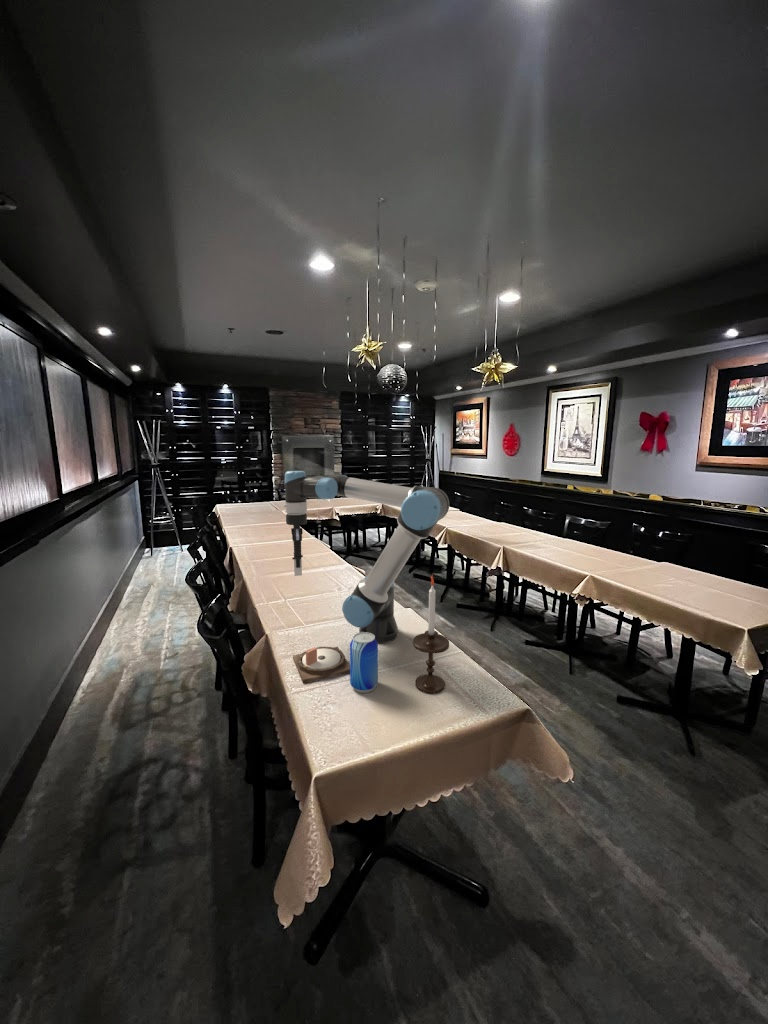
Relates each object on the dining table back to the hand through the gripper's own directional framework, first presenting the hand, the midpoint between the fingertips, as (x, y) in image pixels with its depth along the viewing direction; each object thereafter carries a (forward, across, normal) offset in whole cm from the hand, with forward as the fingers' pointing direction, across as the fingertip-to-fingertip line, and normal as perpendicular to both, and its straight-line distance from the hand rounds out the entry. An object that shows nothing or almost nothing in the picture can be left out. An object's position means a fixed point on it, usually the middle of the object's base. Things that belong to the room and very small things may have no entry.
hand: (298, 575), depth 151 cm
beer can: (+25, +38, +18) cm, 49 cm away
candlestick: (+25, +43, +37) cm, 62 cm away
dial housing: (+24, +23, +6) cm, 34 cm away
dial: (+23, +23, +6) cm, 33 cm away
